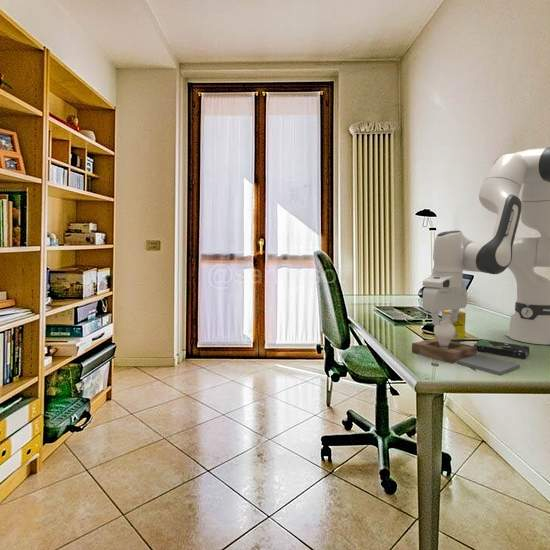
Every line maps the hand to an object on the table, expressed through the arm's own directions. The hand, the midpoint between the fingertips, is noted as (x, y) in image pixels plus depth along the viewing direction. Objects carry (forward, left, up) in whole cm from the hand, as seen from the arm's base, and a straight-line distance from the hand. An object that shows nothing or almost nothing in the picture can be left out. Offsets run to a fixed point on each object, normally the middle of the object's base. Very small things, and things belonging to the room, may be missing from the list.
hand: (444, 323), depth 118 cm
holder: (-1, 0, -10) cm, 10 cm away
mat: (-1, +14, -10) cm, 17 cm away
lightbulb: (-1, 0, -11) cm, 11 cm away
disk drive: (-20, +9, -11) cm, 24 cm away
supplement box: (-22, -9, -11) cm, 26 cm away
